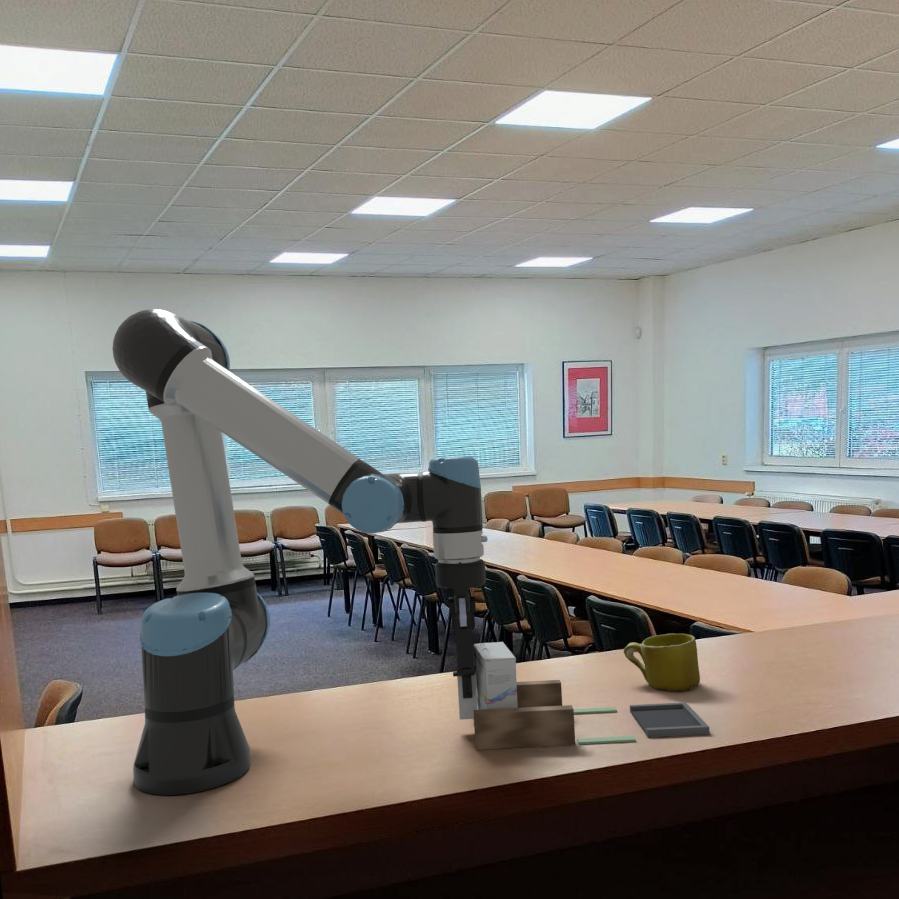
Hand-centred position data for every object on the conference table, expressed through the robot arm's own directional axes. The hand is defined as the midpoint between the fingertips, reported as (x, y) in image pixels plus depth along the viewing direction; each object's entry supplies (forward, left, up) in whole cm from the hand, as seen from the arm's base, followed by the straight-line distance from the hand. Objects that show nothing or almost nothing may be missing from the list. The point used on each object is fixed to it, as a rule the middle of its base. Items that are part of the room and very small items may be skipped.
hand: (468, 717), depth 120 cm
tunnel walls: (+8, 0, -2) cm, 8 cm away
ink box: (+4, 0, -2) cm, 4 cm away
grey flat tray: (+29, 0, -2) cm, 29 cm away
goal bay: (+19, 0, -2) cm, 19 cm away
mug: (+34, +19, -2) cm, 39 cm away
